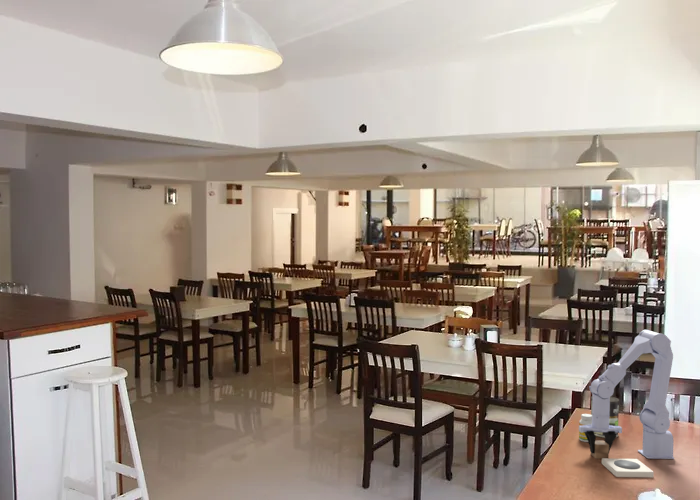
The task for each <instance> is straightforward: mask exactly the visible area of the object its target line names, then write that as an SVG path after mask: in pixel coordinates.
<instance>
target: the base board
mask: <svg viewBox="0 0 700 500" xmlns="http://www.w3.org/2000/svg"><path fill="white" fill-rule="evenodd" d="M601 464H602V465H603V466H604V467H605V468H606V469H607V470H608V471H609V472H610V473H611V474H613V475H614V477H616V478H654V476H655V475H654V474H655V473H654V470H652V469H651V468H650V467H648V466H647V465H645V463H643V462H642V461H640V459H638V458H612V457H611V458H602V459H601Z"/></svg>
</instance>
